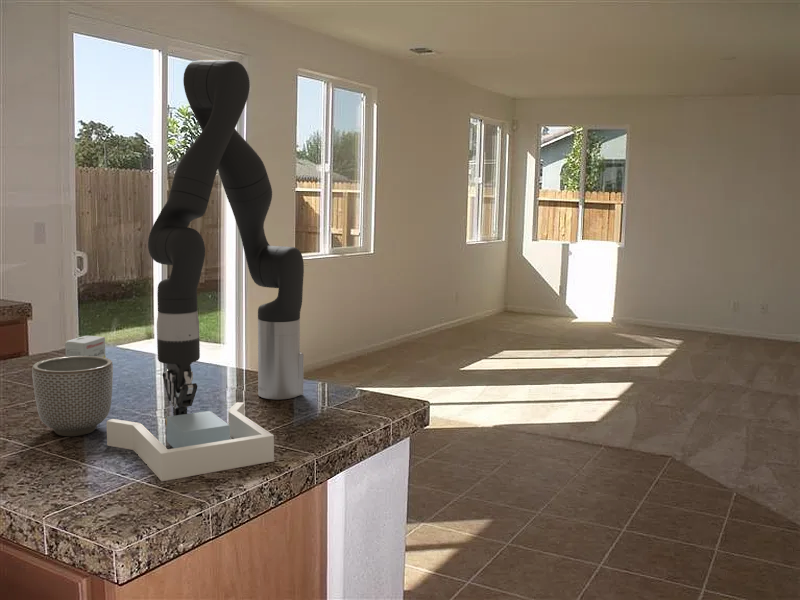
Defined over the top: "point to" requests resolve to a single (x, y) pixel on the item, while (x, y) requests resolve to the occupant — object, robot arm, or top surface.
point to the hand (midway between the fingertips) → (180, 426)
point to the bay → (196, 447)
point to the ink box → (86, 346)
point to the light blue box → (195, 429)
